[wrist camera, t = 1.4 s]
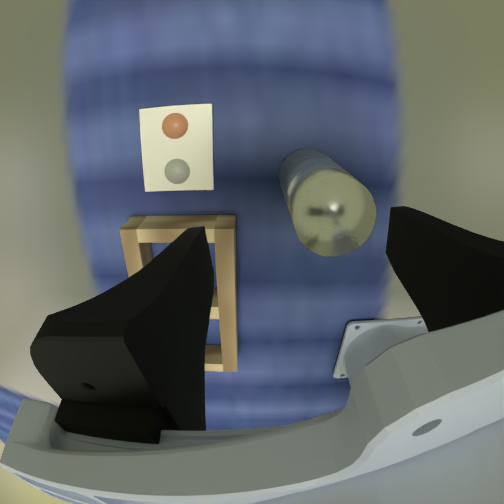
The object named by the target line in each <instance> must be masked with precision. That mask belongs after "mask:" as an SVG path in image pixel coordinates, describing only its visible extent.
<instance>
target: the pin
mask: <svg viewBox="0 0 504 504" xmlns="http://www.w3.org/2000/svg"><path fill="white" fill-rule="evenodd" d="M279 182H280V185H281V188H282V191H283V194H284V197H285V200H286V203H287V206H288V209H289V212H290V215H291V218H292V221H293V225H294V228H295V231H296V234H297V236H298V238H299V239H300V241H301V242H302V244H303V245H304V246H305V247H306V248H308V249H309V250H310V251H312V252H314V253H316V254H319V255H322V256H330V257H333V256H341V255H345V254H348V253H350V252H352V251H354V250H356V249H357V248H358V247H360V246H361V245H362V244H363V243H364V242H365V241H366V240H367V238H368V237H369V236H370V234H371V232H372V230H373V228H374V225H375V221H376V206H375V202H374V199H373V197H372V195H371V194H370V192H369V191H368V189H367V188H366V187H365V186H364V185H362V184H361V183H360V182H359V181H358V180H356V179H355V178H354V177H353V176H352V175H350V174H349V173H348V172H347V171H345V170H344V169H343V168H342V167H340V166H339V165H338V164H337V163H335V162H334V161H333V160H331V159H330V158H329V157H328V156H326V155H325V154H324V153H322V152H321V151H318V150H316V149H311V148H304V149H299V150H296V151H294V152H292V153H291V154H289V155H288V156H287V157H286V158H285V160H284V161H283V163H282V164H281V167H280V170H279Z"/></svg>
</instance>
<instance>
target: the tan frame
mask: <svg viewBox="0 0 504 504" xmlns="http://www.w3.org/2000/svg"><path fill="white" fill-rule="evenodd" d="M200 226H205V231H206V236H207V241H208V243H215V260H216V278H217V288H214V289H213V299H212V306H211V312H210V318H209V319H219V323H220V337H221V345H206V346H205V371H227V372H238V322H237V275H236V215H168V216H131V217H130V218H129V220H128V221H127V222H126V223H125V224H124V225H123V226H122V227H121V229H120V235H121V241H122V246H123V251H124V257H125V261H126V266H127V271H128V276H129V277H130V276H132V275H133V274H135V273H136V272H138V271H139V270H140V269H142V268H143V267H144V266H146V265H147V264H148V263H149V262H150V261H152V260H153V255H152V249H151V243H172V242H173V241H174V240H175V239H176V238H177V237H178V236H179V235H180V234H182V233H183V232H184V231H185V230H186V229H188V228H192V227H200Z"/></svg>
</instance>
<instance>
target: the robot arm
mask: <svg viewBox="0 0 504 504" xmlns="http://www.w3.org/2000/svg"><path fill="white" fill-rule="evenodd" d="M386 254H387V256H388V259H389V261H390V263H391V265H392V267H393V270H394V272H395V273H396V275H397V276H398V278H399V280H400V281H401V283H402V284H403V286H404V288H405V289H406V291H407V292H408V294H409V296H410V297H411V299H412V300H413V302H414V304H415V305H416V307H417V309H418V310H419V312H420V314H421V316H419V317H408V318H396V319H383V320H367V321H352V322H349V323H348V324H347V326H346V329H345V333H344V337H343V341H342V344H341V348H340V351H339V355H338V359H337V362H336V365H335V369H334V372H333V377H334V378H346V377H348V379H349V383H350V386H351V390H350V394H349V398H348V402H347V405H346V406H345V407H344V408H341V409H338V410H335V411H332V412H329V413H326V414H323V415H320V416H317V417H314V418H310V419H307V420H304V421H300V422H297V423H293V424H290V425H285V426H277V427H266V428H255V429H240V430H217V431H206V422H205V346H206V338H207V331H208V325H209V318H210V312H211V306H212V299H213V289H214V270H213V266H212V261H211V256H210V251H209V246H208V241H207V236H206V231H205V226H200V227H192V228H188V229H186V230H185V231H184V232H183V233H182V234H180V235H179V236H178V237H177V238H176V239H175V240H174V241H173V242H172V243H171V244H170V245H169V246H168V247H167V248H165V249H164V250H163V251H162V252H161V253H160V254H159V255H157V256H156V257H155V258H154V259H153V260H152V261H150V262H149V263H148V264H147V265H146V266H144V267H143V268H142V269H140V270H139V271H138V272H136V273H135V274H133V275H132V276H130V277H129V278H128V279H126V280H124V281H123V282H121V283H119V284H118V285H116V286H114V287H112V288H111V289H109V290H107V291H106V292H104V293H102V294H100V295H98V296H96V297H94V298H92V299H89V300H87V301H85V302H83V303H80V304H78V305H76V306H73V307H71V308H68V309H65V310H62V311H59V312H56V313H54V314H51V315H48V316H47V318H46V319H45V321H44V323H43V325H42V326H41V328H40V330H39V332H38V333H37V335H36V337H35V339H34V341H33V343H32V345H31V347H30V354H31V357H32V360H33V363H34V365H35V367H36V368H37V370H38V371H39V373H40V374H41V375H42V376H43V378H44V379H45V380H46V381H47V382H48V384H49V385H50V386H51V387H52V388H53V390H54V391H55V392H56V393H57V394H58V395H59V397H60V398H61V399H62V400H61V403H60V406H59V408H57V407H56V406H54V405H52V404H50V403H47V402H42V401H37V400H32V399H27V398H24V399H23V400H22V403H21V405H20V408H19V410H18V412H17V415H16V417H15V420H14V423H13V425H12V428H11V431H10V433H9V436H8V439H7V442H6V445H5V448H4V450H3V454H2V457H1V460H0V465H1V466H2V467H4V468H5V469H6V470H8V471H9V472H11V473H12V474H14V475H16V476H17V477H19V478H20V479H22V480H23V481H25V482H26V483H28V484H30V485H32V486H33V487H35V488H37V489H39V490H40V491H42V492H44V493H46V494H47V495H49V496H51V497H54V498H57V499H59V500H62V501H65V502H68V503H71V504H504V242H503V241H499V240H495V239H492V238H488V237H485V236H482V235H479V234H476V233H473V232H470V231H468V230H465V229H462V228H460V227H457V226H455V225H452V224H450V223H448V222H446V221H443V220H441V219H438V218H436V217H434V216H431V215H429V214H426V213H424V212H421V211H418V210H416V209H413V208H410V207H405V206H401V207H391V210H390V220H389V229H388V238H387V246H386ZM356 326H357V327H356Z"/></svg>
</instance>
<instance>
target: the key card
mask: <svg viewBox="0 0 504 504" xmlns="http://www.w3.org/2000/svg"><path fill="white" fill-rule="evenodd" d="M139 112H140V133H141V148H142V162H143V173H144V184H145V192H149V191H177V190H214V171H213V115H212V104H193V105H178V106H165V107H155V108H146V109H139Z"/></svg>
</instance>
